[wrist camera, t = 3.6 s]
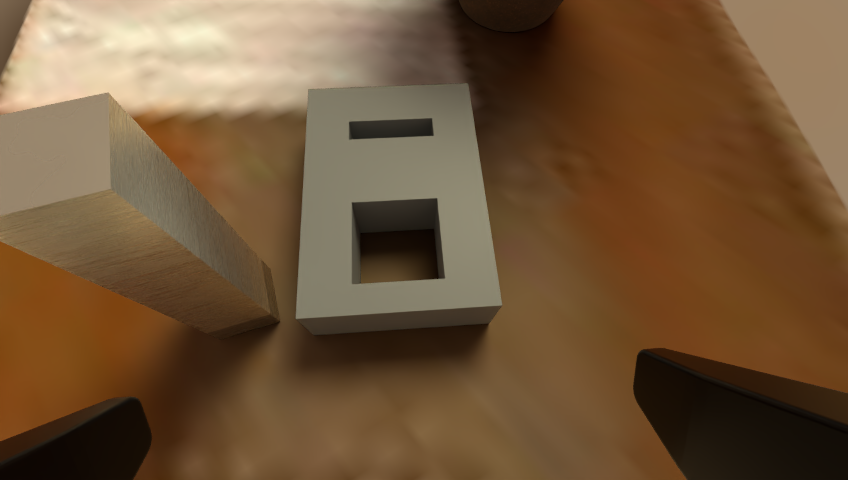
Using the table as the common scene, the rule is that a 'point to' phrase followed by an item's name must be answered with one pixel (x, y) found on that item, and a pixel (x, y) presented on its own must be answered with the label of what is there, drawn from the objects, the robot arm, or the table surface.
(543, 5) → the plant pot
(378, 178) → the bore block
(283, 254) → the table surface
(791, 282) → the table surface
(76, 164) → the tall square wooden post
